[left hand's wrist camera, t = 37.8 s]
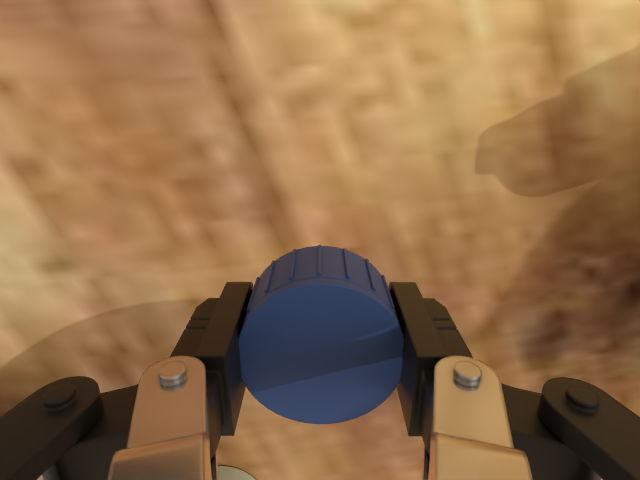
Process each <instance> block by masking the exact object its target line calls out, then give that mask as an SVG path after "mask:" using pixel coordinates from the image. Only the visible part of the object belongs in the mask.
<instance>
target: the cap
mask: <svg viewBox="0 0 640 480" xmlns="http://www.w3.org/2000/svg"><path fill="white" fill-rule="evenodd" d="M246 311H247V312H246V315H245V318H244V321H243V324H242V328H241V331H240V334H239V352H240V363H241V374H242V380H243V382H244V384H245V385H246V387H247V389H248V390H249V391H250V393H251V394H252V395H253V396H254V397H255V398H256V399H257V400H258V401H259V402H260V403H261V404H263V405H264V406H265V407H267V408H268V409H269V410H271V411H273V412H275V413H276V414H279V415H281V416H283V417H285V418H288V419H291V420H295V421H299V422H304V423H312V424H331V423H339V422H344V421H348V420H351V419H354V418H357V417H359V416H362V415H364V414H366V413H368V412H370V411H371V410H373V409H375V408H376V407H377V406H379V405H380V404H381V403H383V402H384V401H385V400H386V399H387V398H388V397H389V396H390V395H391V393H392V392H393V391H394V390H395V388H396V386H397V385H398V383H399V381H400V377H401V367H402V356H403V345H404V334H403V331H402V329H401V325H400V322H399V319H398V316H397V313H396V310H395V307H394V304H393V301H392V298H391V295H390V292H389V289H388V286H387V283H386V280H385V277H384V275H382V276H381V274H380V273H379V272H378V270H377V269H376V268H375V267H374V266H373V265H372V264H370V263H369V261H368V259H364V258H362V257H360V256H359V255H357V254H355V253H353V252H350V251H347V250H346V249H345V248H344V249H340V248H336V247H329V246H321V245H318V246H314V247H306V248H302V249H298V250H296V249H295V250H293V251H292V252H290V253H287V254H286V255H284V256H282V257H280V258H279V259H277V260H276V261H274V260H273V261H272V263H271V265H270V266H269V267H268V268H267V269H266V270H265V271H264V272H263V273H262V275H261V276H260V278H259V277H257V279H256V282H255V285H254V288H253V291H252V295H251V298H250V301H249V304H248V307H247V310H246Z"/></svg>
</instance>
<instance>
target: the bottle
mask: <svg viewBox="0 0 640 480" xmlns="http://www.w3.org/2000/svg"><path fill="white" fill-rule="evenodd" d="M217 468H218V480H256V479H255V478H253V477H252V476H251V475H250V474H248V473H246V472H244V471H242V470H240V469H237V468H234V467H229V466H217Z"/></svg>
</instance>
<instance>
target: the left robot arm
mask: <svg viewBox="0 0 640 480" xmlns="http://www.w3.org/2000/svg"><path fill="white" fill-rule="evenodd" d="M388 289H389V292H390V295H391V298H392V301H393V304H394V307H395V310H396V313H397V316H398V319H399V322H400V325H401V329H402V331H403V334H404V345H403V356H402V367H401V377H400V381H399V383H398V385H397V390H398V394H399V398H400V402H401V407H402V411H403V415H404V419H405V423H406V427H407V431H408V435H409V436H422V437H423V441H424V444H425V447H424V455H423V468H422V480H601V478H602V479H603V480H640V417H638V416H637V415H636V414H634V413H633V412H632V411H630V410H629V409H627V408H626V407H625V406H623V405H622V404H621V403H619V402H618V401H617V400H615V399H614V398H612V397H611V396H610V395H608V394H607V393H605V392H604V391H602V390H601V389H599V388H597V387H596V386H593V385H591V384H589V383H586V382H584V381H581V380H577V379H572V378H553V379H551V380H548V381H547V382H546V383H545V384H544V386H543V389H542V393H541V394H540V393H536V392H531V391H527V390H522V389H518V388H514V387H510V386H507V385H504V384H502V383H501V381H500V378H499V376H498V374H497V373H496V372H495V371H494V370H493V369H492V368H491V367H490V366H488V365H487V364H485V363H483V362H481V361H479V360H477V359H474V358H473V357H472V355H471V353H470V351H469V349H468V348H467V346H466V344H465V342H464V340H463V338H462V337H461V335H460V333H459V331H458V330H457V329H456V326H455V324H454V322H453V321H452V318H451V317H450V315H449V313H448V311H447V309H446V308H445V307H444V306H443V305H441V304H440V303H439V302H437V301H436V300H435V299H427V298H422V295H421V293H420V291H419V289H418V287H417V285H416V283H415V282H390V284H389V288H388ZM252 291H253V283H252V282H227V283H226V285H225V287H224V289H223V291H222V294H221V296H220V298H208V299H207V300H206V301H204V302H203V303H202V304H201V305H199V306H198V307H197V308H196V310H195V311H194V313H193V315H192V317H191V320H190V321H189V323H188V324H187V326H186V329H185V330H184V332H183V334H182V336H181V337H180V339H179V341H178V343H177V345H176V347H175V349H174V350H173V352H172V354H171V356H170V358H166V359H163V360H161V361H159V362H157V363H155V364H153V365H152V366H150V367H149V368H148V369H147V370H146V371H145V372H144V373H143V374H142V376H141V378H140V381H139V384H137V385H135V386H131V387H127V388H123V389H118V390H114V391H109V392H105V393H100V390H99V386H98V384H97V382H96V381H95V380H93V379H91V378H89V377H82V376H76V377H69V378H64V379H60V380H57V381H55V382H52V383H50V384H48V385H46V386H44V387H42V388H40V389H39V390H37V391H36V392H34V393H33V394H32V395H30V396H29V397H28V398H26V399H25V400H23V401H22V402H21V403H19V404H18V405H17V406H15V407H14V408H13V409H11V410H10V411H8V412H7V413H6V414H4V415H3V416H2V417H0V480H37V479H38V478H39V477H40V476H41V475H42V477H43V480H218V468H217V455H216V450H217V447H218V444H219V440H220V436H234V433H235V429H236V425H237V420H238V416H239V412H240V408H241V404H242V400H243V395H244V391H245V387H246V385H245V384H244V382H243V380H242V374H241V363H240V352H239V334H240V331H241V328H242V324H243V321H244V318H245V315H246V312H247V311H246V310H247V307H248V304H249V301H250V298H251V295H252Z"/></svg>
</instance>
